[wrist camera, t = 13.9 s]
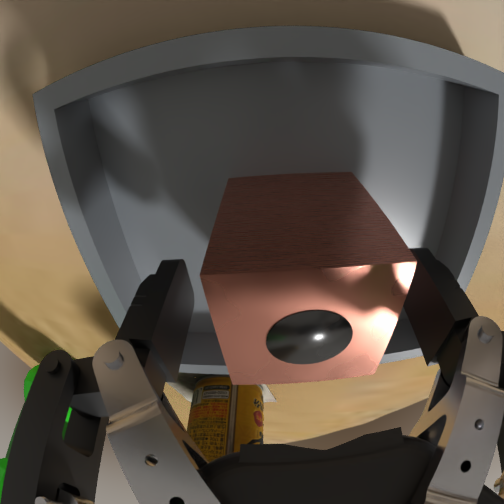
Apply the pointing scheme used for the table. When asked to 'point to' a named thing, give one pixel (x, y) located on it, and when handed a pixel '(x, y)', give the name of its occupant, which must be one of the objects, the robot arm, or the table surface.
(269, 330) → the red block
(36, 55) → the table surface
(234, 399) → the condiment
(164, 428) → the robot arm
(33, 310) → the table surface
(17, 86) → the table surface
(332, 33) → the tray
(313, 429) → the table surface
